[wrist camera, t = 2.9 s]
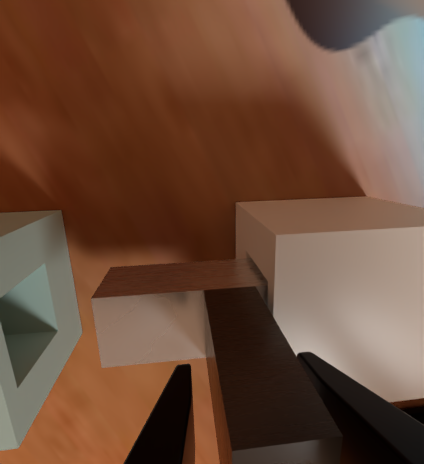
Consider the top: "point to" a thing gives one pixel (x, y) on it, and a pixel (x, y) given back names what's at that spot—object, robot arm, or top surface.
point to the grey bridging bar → (220, 354)
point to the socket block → (33, 316)
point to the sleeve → (345, 283)
